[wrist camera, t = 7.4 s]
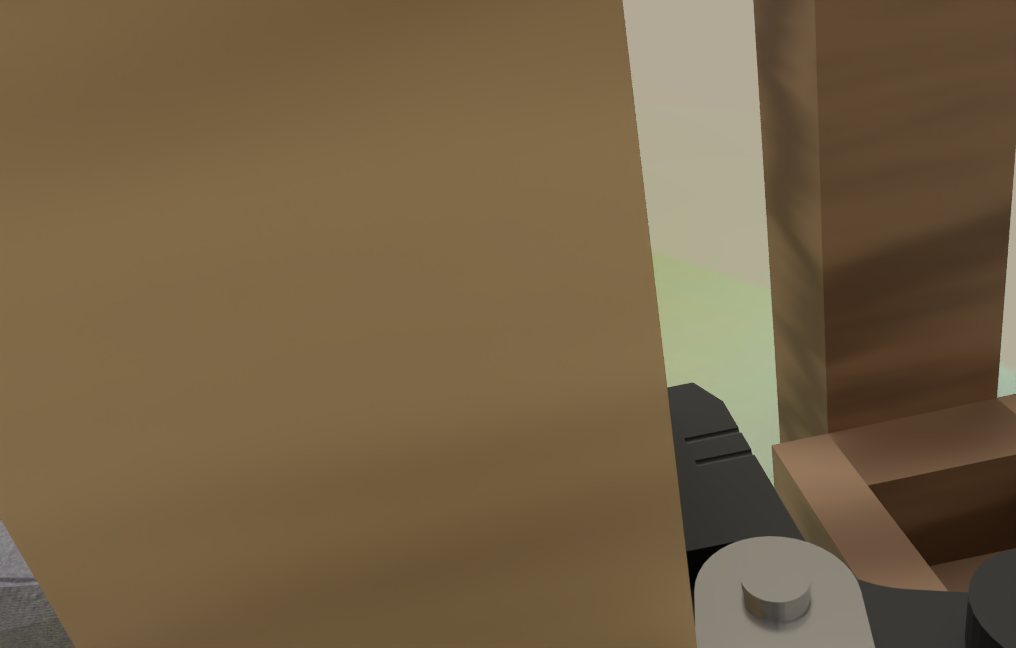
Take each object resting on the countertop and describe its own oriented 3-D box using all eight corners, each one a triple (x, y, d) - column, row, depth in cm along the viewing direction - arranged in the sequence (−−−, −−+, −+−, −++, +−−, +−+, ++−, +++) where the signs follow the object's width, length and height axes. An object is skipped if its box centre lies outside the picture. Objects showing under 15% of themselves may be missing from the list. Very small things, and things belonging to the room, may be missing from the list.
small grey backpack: (185, 723, 31) (312, 416, 48) (90, 546, 27) (265, 284, 45) (-190, 767, 32) (67, 455, 50) (-328, 606, 28) (2, 331, 46)
